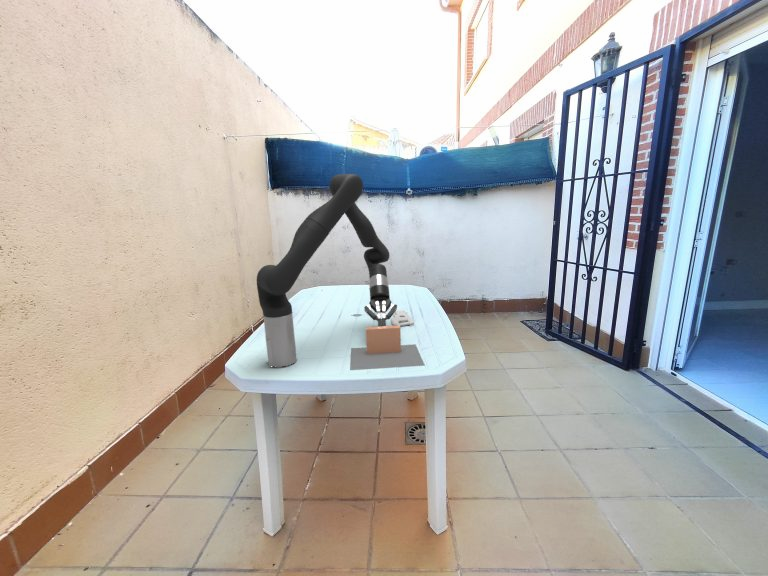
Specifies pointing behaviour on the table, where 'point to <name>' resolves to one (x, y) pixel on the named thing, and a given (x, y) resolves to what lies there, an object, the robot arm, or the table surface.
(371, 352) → the tile
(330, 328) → the table surface
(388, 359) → the mat
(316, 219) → the robot arm
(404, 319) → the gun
